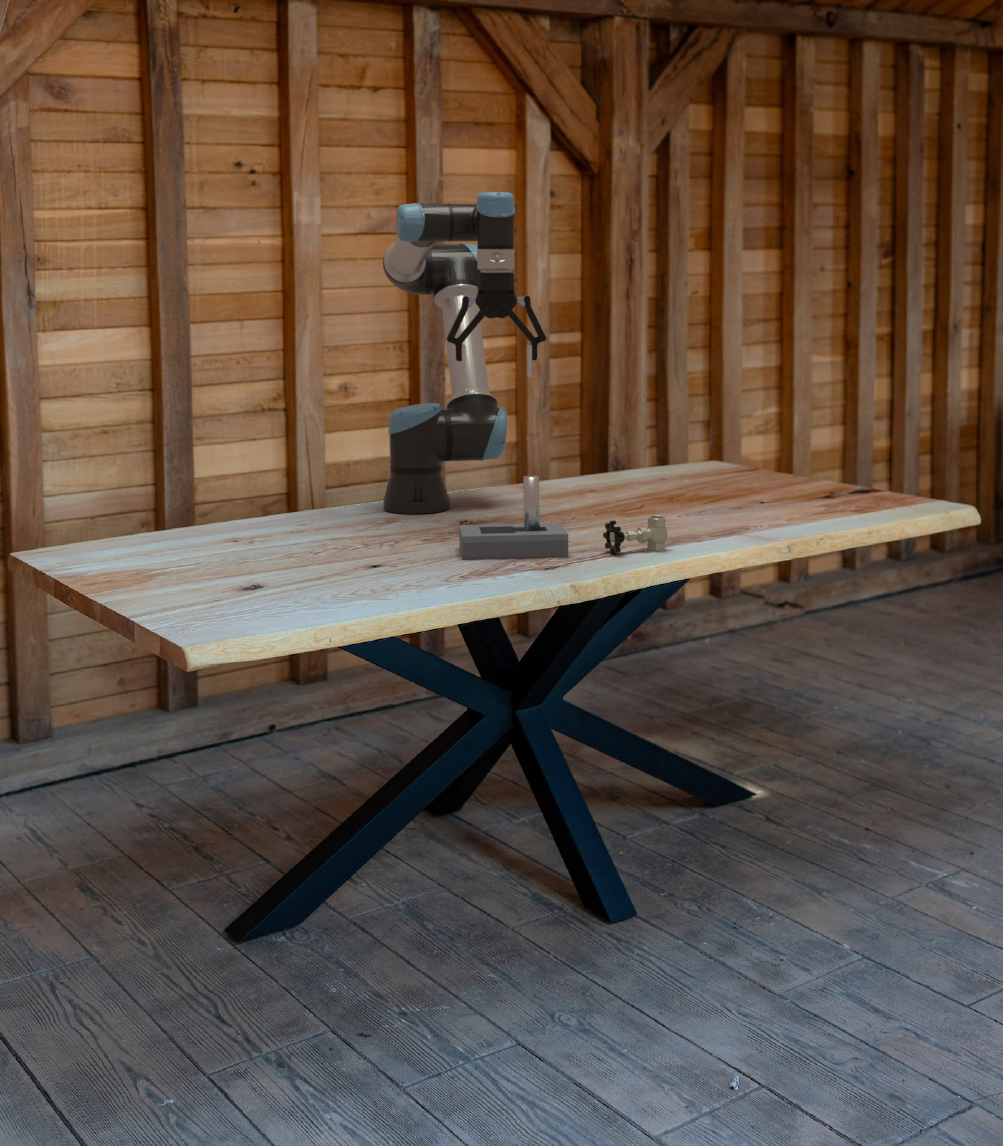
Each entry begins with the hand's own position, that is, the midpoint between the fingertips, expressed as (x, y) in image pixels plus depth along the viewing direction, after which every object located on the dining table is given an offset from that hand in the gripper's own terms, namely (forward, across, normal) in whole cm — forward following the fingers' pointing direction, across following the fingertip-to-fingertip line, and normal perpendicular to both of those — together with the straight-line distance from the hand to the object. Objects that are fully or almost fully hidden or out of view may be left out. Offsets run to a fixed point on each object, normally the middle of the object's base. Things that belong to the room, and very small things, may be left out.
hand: (496, 377), depth 278 cm
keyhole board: (+31, +1, -26) cm, 40 cm away
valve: (+31, +25, -28) cm, 49 cm away
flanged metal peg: (+30, +5, -26) cm, 40 cm away
